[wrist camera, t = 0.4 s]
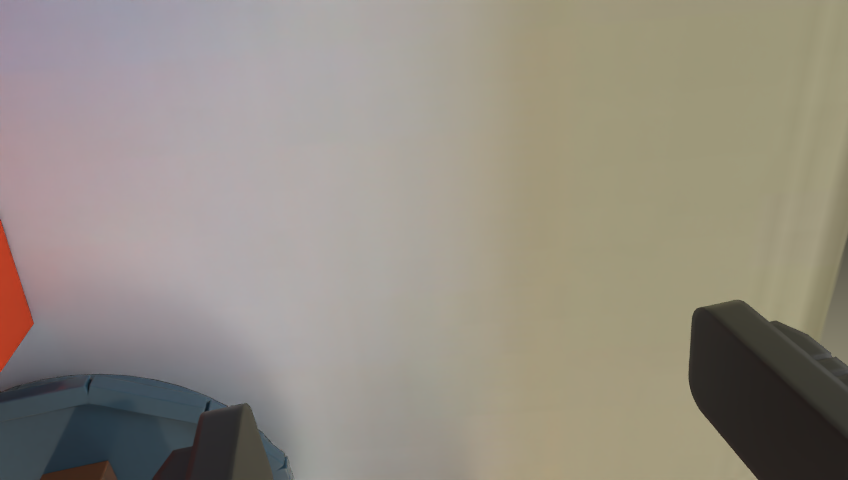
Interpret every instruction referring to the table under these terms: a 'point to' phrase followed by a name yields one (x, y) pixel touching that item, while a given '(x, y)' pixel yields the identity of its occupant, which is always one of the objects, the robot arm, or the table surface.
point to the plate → (102, 428)
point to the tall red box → (11, 305)
